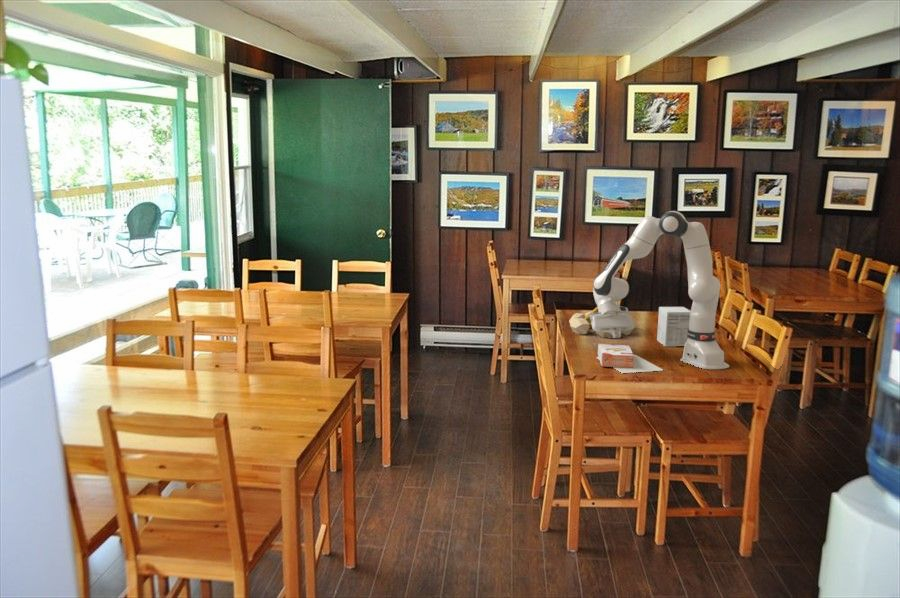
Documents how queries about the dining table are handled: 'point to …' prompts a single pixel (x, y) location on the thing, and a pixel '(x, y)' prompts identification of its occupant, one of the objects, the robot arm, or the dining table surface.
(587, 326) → the campfire
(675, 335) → the supplement box
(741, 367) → the dining table surface
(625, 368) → the felt mat
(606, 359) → the cracker box
